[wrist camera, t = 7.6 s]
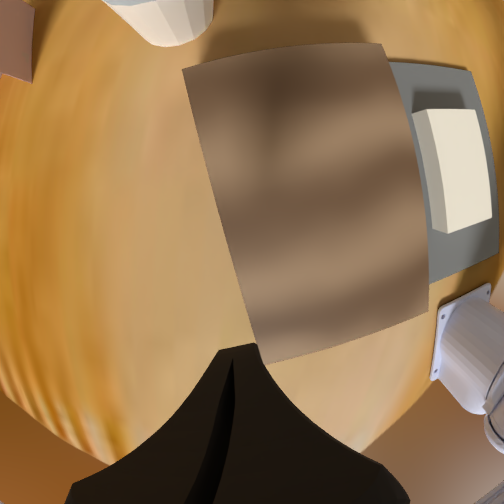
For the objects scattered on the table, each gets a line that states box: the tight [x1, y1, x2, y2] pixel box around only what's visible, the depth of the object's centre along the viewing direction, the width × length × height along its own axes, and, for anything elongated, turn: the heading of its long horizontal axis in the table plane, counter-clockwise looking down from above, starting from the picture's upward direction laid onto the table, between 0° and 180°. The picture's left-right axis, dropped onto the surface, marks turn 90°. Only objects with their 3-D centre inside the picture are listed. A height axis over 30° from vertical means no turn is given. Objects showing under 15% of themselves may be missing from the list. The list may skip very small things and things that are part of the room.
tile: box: [412, 109, 492, 234], centre depth 16 cm, size 9×6×2 cm, turn 15°
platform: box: [182, 43, 429, 365], centre depth 16 cm, size 18×12×4 cm, turn 14°
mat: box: [389, 62, 499, 284], centre depth 17 cm, size 18×12×1 cm
